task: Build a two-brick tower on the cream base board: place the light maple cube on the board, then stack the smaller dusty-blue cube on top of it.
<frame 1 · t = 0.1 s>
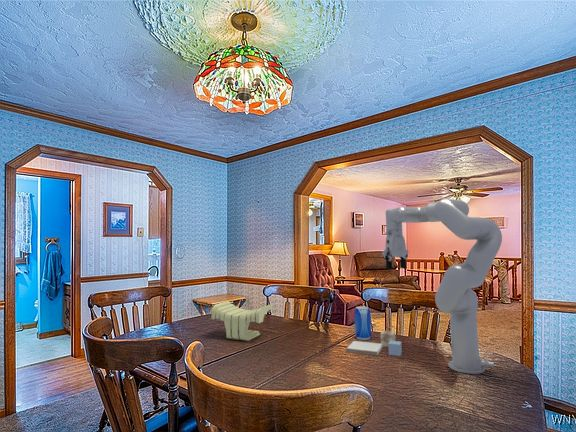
hand: (396, 268, 161), 37 cm above the table, tool pointing down, fingers open, 9 cm apart
slatted curved stool: (242, 337, 182), on the table
base board: (364, 349, 156), on the table
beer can: (363, 338, 174), on the table
blue cube: (395, 353, 149), on the table
maple cube: (388, 345, 162), on the table
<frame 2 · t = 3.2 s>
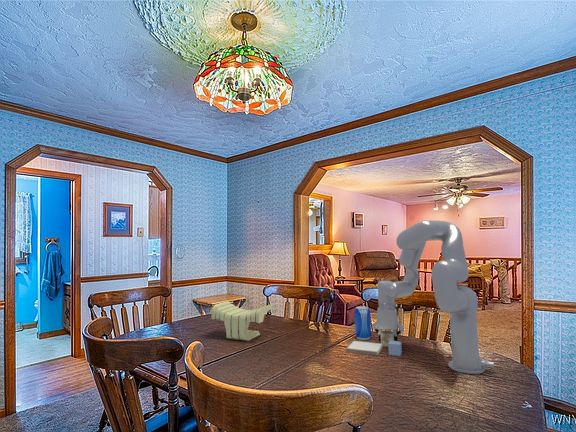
hand: (388, 343, 162), 1 cm above the table, tool pointing down, fingers closed on maple cube, 6 cm apart
maple cube: (388, 345, 162), on the table, touching gripper
everything else where it was.
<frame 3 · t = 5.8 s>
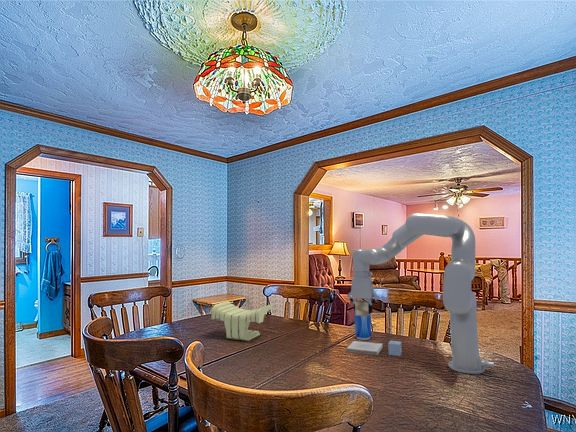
hand: (363, 312, 157), 17 cm above the table, tool pointing down, fingers closed on maple cube, 6 cm apart
maple cube: (363, 314, 157), point 16 cm above the table, touching gripper
everything else where it was.
when the fingers open (3 cm above the table, at t = 8.6 s): maple cube drops 1 cm, resting on base board.
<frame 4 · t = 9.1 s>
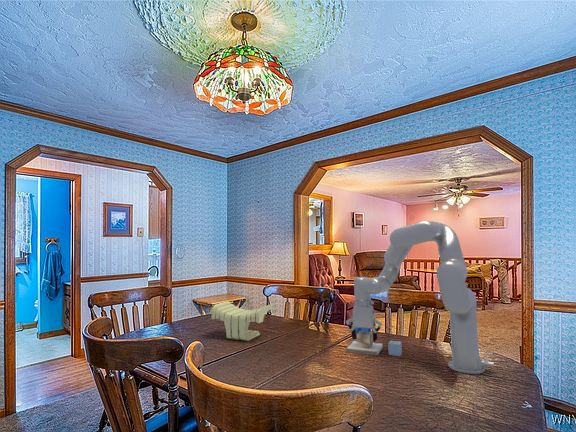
hand: (364, 340, 156), 4 cm above the table, tool pointing down, fingers open, 9 cm apart
maple cube: (365, 346, 156), point 1 cm above the table, touching base board
everything else where it was.
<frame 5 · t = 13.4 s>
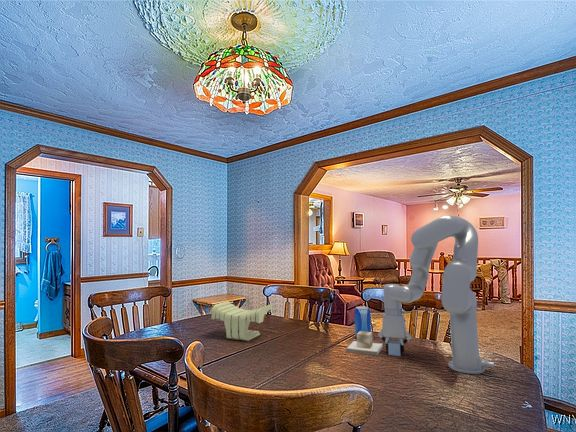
hand: (395, 352, 149), 0 cm above the table, tool pointing down, fingers closed on blue cube, 5 cm apart
blue cube: (395, 353, 149), on the table, touching gripper
everything else where it was.
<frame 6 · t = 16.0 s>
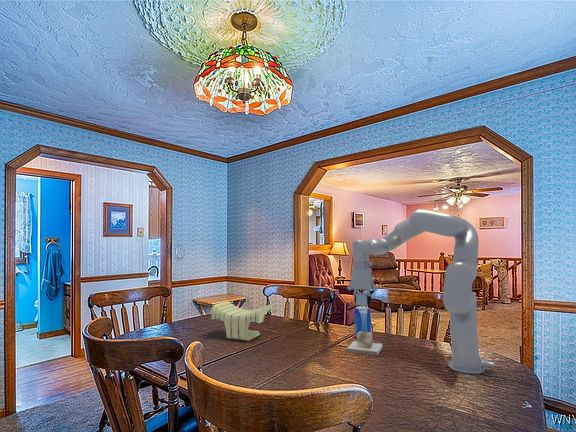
hand: (362, 303, 158), 21 cm above the table, tool pointing down, fingers closed on blue cube, 5 cm apart
blue cube: (362, 304, 158), point 21 cm above the table, touching gripper
everything else where it was.
when the fingers open (9 cm above the table, at t = 18.5 s): blue cube drops 1 cm, resting on maple cube.
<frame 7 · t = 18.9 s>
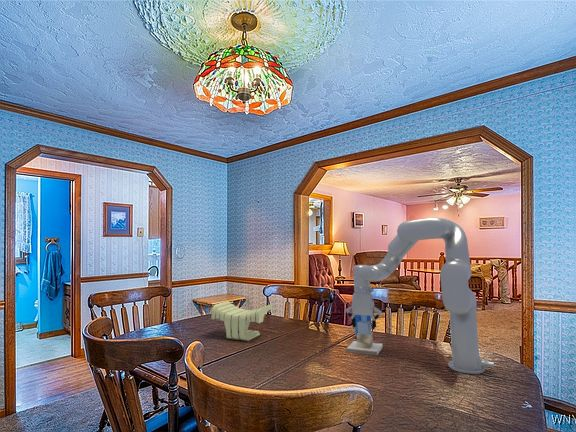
hand: (363, 327, 157), 10 cm above the table, tool pointing down, fingers open, 8 cm apart
blue cube: (364, 333, 156), point 7 cm above the table, touching maple cube
maple cube: (365, 346, 156), point 1 cm above the table, touching base board, blue cube
everything else where it was.
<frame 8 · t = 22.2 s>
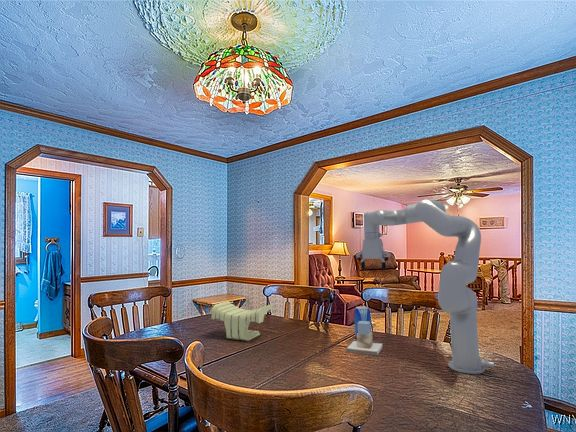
hand: (373, 270, 165), 36 cm above the table, tool pointing down, fingers open, 9 cm apart
nothing on the table moved.
at the end: maple cube inside the target area on the base board (0.1 cm from its centre), point 1.5 cm above the base board's base; blue cube 0.1 cm off-centre on the maple cube, point 6.0 cm above the maple cube's base; blue cube tilted 0° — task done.
